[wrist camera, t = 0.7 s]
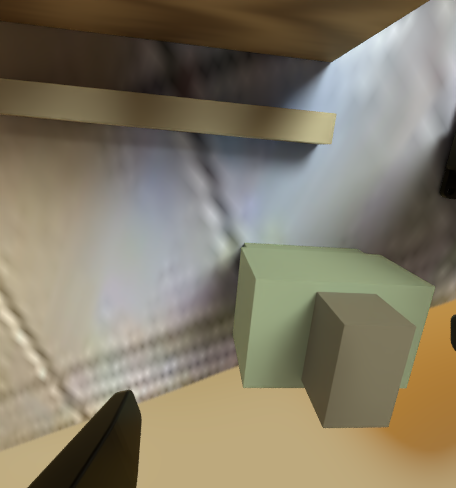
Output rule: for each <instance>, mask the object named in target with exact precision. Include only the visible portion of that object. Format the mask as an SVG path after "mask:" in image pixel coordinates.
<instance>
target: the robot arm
mask: <svg viewBox="0 0 456 488" xmlns="http://www.w3.org/2000/svg"><path fill="white" fill-rule="evenodd" d="M449 188H450V192H449V193H448V189H449ZM440 195H441V196H442V197H444V198H448V199H456V132H455V135H454V139H453V143H452V147H451V150H450V154H449V158H448V162H447V165H446V169H445V173H444V177H443V180H442V184H441V188H440ZM451 344H452V346H453V348H454V350H455V351H456V315H453V316H452V318H451ZM140 436H141V413H140V410H139V407H138V405H137V402H136V399H135V397H134V394H133V392H132V391H131V390H125V391H120V392H117V393H115V394H114V395H113V396H112V397H111V398H110V399H109V400H108V401H107V402H106V404H105V405H104V406H103V407H102V408H101V409H100V410H99V411H98V412H97V413H96V414H95V415H94V417H93V418H92V419H91V420H90V421H89V422H88V423H87V424H86V425H85V426H84V428H82V429H81V431H80V432H79V433H78V434H77V435H76V436H75V437H74V438H73V439H72V440H71V441H70V442H69V443H68V445H67V446H66V447H65V448H64V449H63V450H62V451H61V452H60V453H59V454H58V455H57V456H56V458H55V459H54V460H53V461H52V462H51V463H50V464H49V465H48V466H47V467H46V468H45V469H44V470H43V471H42V473H41V474H40V475H39V476H38V477H37V478H36V479H35V480H34V481H33V482H32V483H31V484H30V486H29V487H28V488H136V485H137V476H138V463H139V448H140Z"/></svg>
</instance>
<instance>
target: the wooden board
mask: <svg viewBox="0 0 456 488" xmlns="http://www.w3.org/2000/svg"><path fill="white" fill-rule="evenodd" d="M428 1H429V0H0V21H5V22H13V23H21V24H29V25H37V26H45V27H53V28H61V29H69V30H77V31H85V32H93V33H101V34H109V35H117V36H125V37H133V38H141V39H149V40H157V41H165V42H173V43H181V44H189V45H197V46H205V47H213V48H221V49H229V50H237V51H245V52H253V53H261V54H269V55H277V56H285V57H293V58H301V59H309V60H317V61H325V62H333V61H334V60H336V59H337V58H339V57H341V56H342V55H344V54H345V53H347V52H348V51H350V50H352V49H353V48H355V47H356V46H358V45H360V44H361V43H363V42H364V41H366V40H367V39H369V38H371V37H372V36H374V35H375V34H377V33H379V32H380V31H382V30H383V29H385V28H387V27H388V26H390V25H391V24H393V23H394V22H396V21H398V20H399V19H401V18H402V17H404V16H406V15H407V14H409V13H410V12H412V11H413V10H415V9H417V8H418V7H420V6H421V5H423V4H425V3H426V2H428ZM0 115H10V116H21V117H31V118H42V119H53V120H63V121H74V122H85V123H95V124H106V125H117V126H127V127H138V128H149V129H159V130H170V131H181V132H191V133H202V134H213V135H223V136H234V137H245V138H255V139H266V140H277V141H287V142H298V143H309V144H331V143H332V137H333V131H334V125H335V119H336V114H334V113H324V112H315V111H305V110H296V109H287V108H277V107H268V106H258V105H249V104H239V103H230V102H221V101H211V100H202V99H192V98H183V97H173V96H164V95H154V94H145V93H136V92H126V91H117V90H107V89H98V88H88V87H79V86H70V85H60V84H51V83H41V82H32V81H22V80H13V79H4V78H0Z"/></svg>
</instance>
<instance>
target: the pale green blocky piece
mask: <svg viewBox="0 0 456 488" xmlns="http://www.w3.org/2000/svg"><path fill="white" fill-rule="evenodd" d="M434 290H435V286H433V285H431V284H430V283H428V282H426V281H424V280H423V279H421V278H419V277H418V276H416V275H414V274H412V273H411V272H409V271H407V270H406V269H404V268H402V267H400V266H399V265H397V264H395V263H394V262H392V261H390V260H388V259H387V258H385V257H383V256H381V255H377V254H365V253H363V252H362V251H360V250H358V249H348V248H330V247H312V246H294V245H276V244H258V243H245V244H244V247H241V256H240V266H239V276H238V286H237V296H236V305H235V315H234V325H233V338H234V343H235V348H236V353H237V359H238V364H239V369H240V373H241V379H242V384H243V388H305V389H306V391H307V394H308V396H309V398H310V400H311V402H312V404H313V407H314V409H315V411H316V414H317V416H318V418H319V420H320V422H321V425H322V427H323V428H363V427H389V422H390V419H391V416H392V412H393V409H394V405H395V402H396V398H397V394H398V391H399V388H407V384H408V381H409V377H410V374H411V370H412V366H413V363H414V360H415V356H416V353H417V349H418V346H419V342H420V338H421V335H422V332H423V328H424V325H425V321H426V318H427V314H428V311H429V308H430V304H431V301H432V297H433V294H434Z"/></svg>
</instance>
